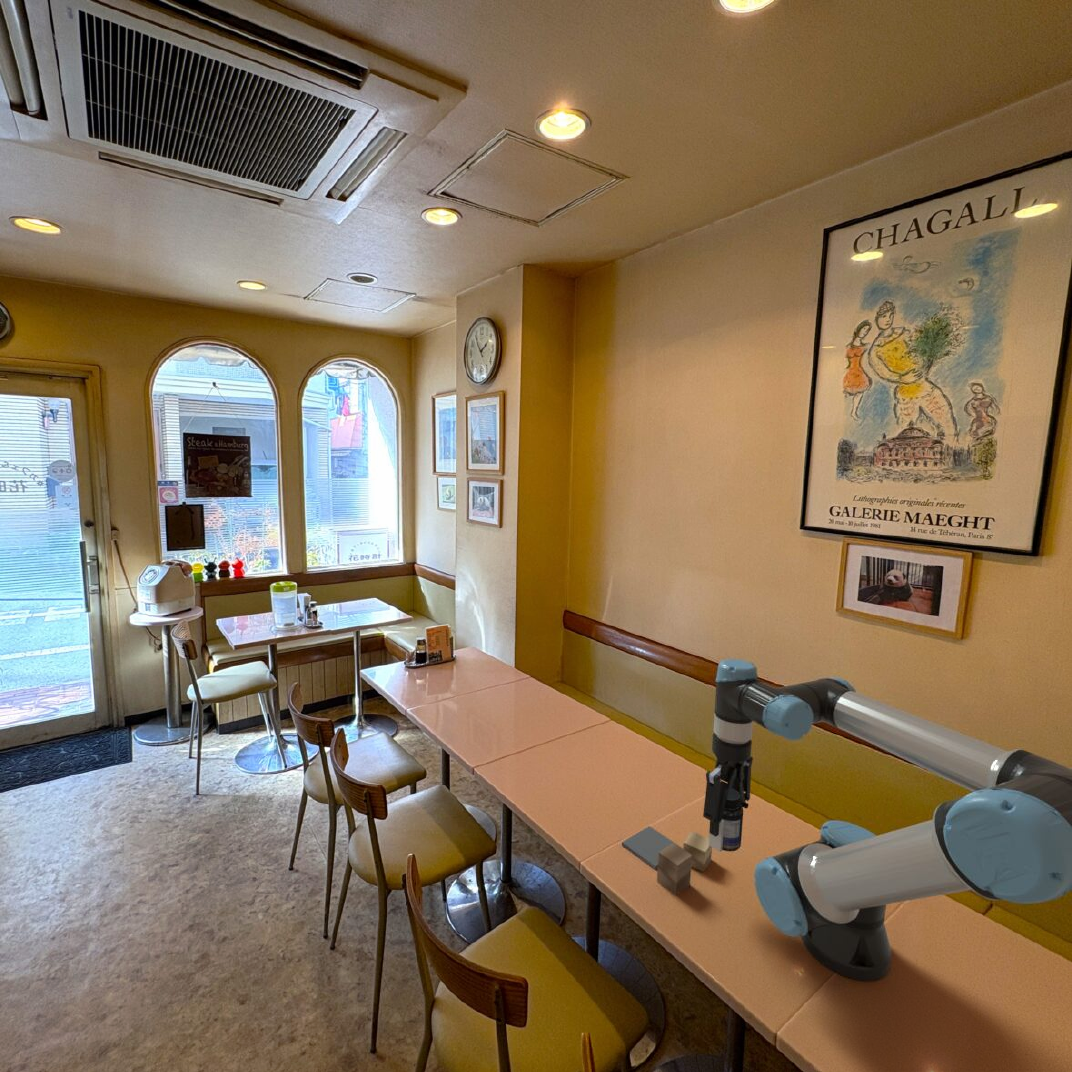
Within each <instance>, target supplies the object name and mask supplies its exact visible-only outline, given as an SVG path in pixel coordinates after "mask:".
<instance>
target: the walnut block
mask: <svg viewBox="0 0 1072 1072" xmlns="http://www.w3.org/2000/svg"><path fill="white" fill-rule="evenodd" d="M674 843H675V842H674ZM674 843H672V844H671V845H669V846H668V847H666V848H664V849H663V850H661V851H660V852H659V856H658V868H657V873H656V874H657V875H656V883H658V884H660V885H661V886H662V887H664V888H665V889H666V890H667V891H670V893H672V894H673V895H674V896H677V895H678V894H680V893H681V892H682V891H683V890H685V889H687V888H688V887H689V886H690V885H691V875H692V866H691V863H692V855H691V854H689V853H688V852H686V851H685V850H683V849H682V848H683V847H682V848H680V847H681V846H680V845H679V846H680V847H679V846H677V845H678V844H677V843H676V844H677V845H676V844H674Z"/></svg>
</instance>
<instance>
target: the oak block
mask: <svg viewBox="0 0 1072 1072" xmlns="http://www.w3.org/2000/svg"><path fill="white" fill-rule="evenodd" d="M682 848H683V850H685V851H686V852H688V853H689V854H691V855H692V863H691V868H694V869H697V870H699V871H700V872H705V870H706V869H707V867H708V866H709V865H710V862H711V861H712V855H713V847H711V846H710V845H709V837H706V836H704V835H702V834H699V833H697V832H694V831H690V833H689V834H688V836H687V837H686V839H685V840H684V842H683V847H682Z"/></svg>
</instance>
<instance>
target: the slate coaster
mask: <svg viewBox="0 0 1072 1072" xmlns="http://www.w3.org/2000/svg"><path fill="white" fill-rule="evenodd" d="M672 843H674V844H676V845H677V846H679V847H680V848H682V849H683V847H682V846H680V845H679V844H677V843H676V842H674V841H673V840H671V839H670V838H669V837H667V836H665V835H663V834H662V833H661V832H660V831H658V830H656V829H654V828H653V827H652V826H650V825H649V826H647V827H645V828H643V829H642V830H640V831H639V832H637V833H635V834H633V835H632V836H630V837H628V838H627V839H625V840H623V841H622V842H621V846H622V847H624V849H626V850H628V851H629V852H630V853H631V854H633V855H634V856H636V857H637V858H639V859H640V860H641V861H642V862H644V863H645V864H647V866H650V867H651V868H652V869H654V870H658V856H659V852H660V851H661V850H663V849H664V848H666V847H668V846H669V845H671V844H672Z"/></svg>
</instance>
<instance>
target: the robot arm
mask: <svg viewBox="0 0 1072 1072" xmlns="http://www.w3.org/2000/svg"><path fill="white" fill-rule="evenodd" d="M716 671H717V672H716V676H715V677H716V678H715V698H714V699H715V700H714V714H713V717H714V719H713V728H712V729H713V731H712V732H713V734H712V743H711V744H712V745H711V751H712V753H713V754H714V755H715V757H716V762H715V764H714V770H713V771H710V770H707V771H706V773H705V779H706V785H705V786H706V787H705V794H704V795H705V796H704V805H703V815H702V817H703V818H705V819H707V820H708V821H709V835H708V838H709V845H710V846H711V847H712V849H715V850H716V851H718V852H722V851H723V850H722V847H723V833H724V820H722V817H723V812H724V808H725V804H726V800H727V795H728V791H729V789H731V788H732V789H734V790H736V791H738V792H739V793H740V796H741V800H740V805H741V806H742V808H743V809H748V808H749V803H747V802H748V801H750V799H751V781H752V779H751V777H752V776H751V775H752V765H753V760H754V757H753V756H751V755H752V745H753V744H752V743H753V741H752V738H753V732H754V731H753V729H754V728H753V727H754V723H756V724H758V725H759V726H761V727H763V728H764V729H767V730H768V731H769V732H770V733H772V734H774V735H777V736H780V737H781V738H782V737H783V738H784V739H785V740H789V741H799V740H801V739H803V737H804V735H807V734H808V733H809V732H811V731H810V730H811V728H812V726H813V724H818V723H826V724H828V725H830V726H832V727H835V728H837V729H838V730H841V731H844V732H845V733H848V734H850V735H852V736H854V737H855V738H856V737H857V738H859V739H861V740H863V741H865V742H867V743H870V744H871V745H874V746H875V747H878V748H879V749H882V750H884V751H885V752H889V753H891V754H893V755H895V756H897V757H899V758H901V759H903V760H906V761H907V762H909V763H911V764H913V765H916V766H918V767H920V768H922V769H924V770H927V771H929V772H931V773H933V774H935V775H937V776H939V777H940V778H941V777H942V778H943V779H944V780H945V779H946V780H948V781H950V782H952V783H953V784H956V785H958V786H960V787H963V788H964V789H967V790H969V791H971V793H968V794H966V795H964V796H959V797H957V798H954V799H953V798H952V799H951V800H947V801H944V802H942V803H940V804H939V805H937V807H936V808H935V810H934V811H933V815H932V819H930V820H926V821H923V822H920V823H917V824H914V825H910V826H906V827H903V828H899V829H895V830H891V831H890V832H886V833H882V834H879V835H876V834H875V833H873V832H871V831H870V830H868V829H865V828H863V827H861V826H859V825H858V824H853V823H852V822H847V821H842V820H827V821H826V822H824V823H823V824H822V826H821V829H820V831H819V833H820V837H819V839H818V840H817V841H816V840H815V841H814V842H811V843H807V844H805V845H802V846H799V847H797V848H796V847H795V848H793V849H791V850H788V851H785V852H782V853H780V854H776V855H774V856H767V857H765V858H764V860H761V861H759V862H758V863H757V864H756V867H755V869H754V873H753V877H754V881H753V883H754V888H755V892H756V895H757V899H758V901H759V903H760V905H761V907H762V909H763V911H764V913H765V914H766V916H767V918H768V919H769V921H770V922H772V924H773V925H774V926H775V928H776V929H778V931H780V932H781V933H783V934H784V935H786V936H789V937H800V936H801V939H802V942H803V944H804V945H805V947H806V949H807V950H808V951H809V952H810V954H811V955H812V956H813V957H814V958H816V960H817V961H818V962H819V963H820V964H822V965H823V966H825V967H827V968H828V969H830V970H831V971H833V972H835V973H836V974H839V975H841V976H844V977H846V978H849V979H852V980H856V981H862V982H873V981H878V980H880V979H883V978H884V977H886V975H887V974H888V973H889V971H890V969H891V962H892V950H891V946H890V942H889V941H890V940H889V938H888V933H887V929H886V925H885V917H886V910H887V905H891V904H897V903H898V904H899V903H903V902H907V901H908V902H909V901H914V900H920V899H925V898H926V899H927V898H931V897H936V896H944V895H949V894H954V893H960V892H965V891H972V892H973V893H975V894H976V895H979V896H980V897H982V898H984V899H986V900H990V901H1003V900H1004V901H1007V902H1009V903H1010V902H1011V903H1015V904H1026V905H1027V904H1028V905H1029V904H1031V905H1032V904H1037V903H1045V902H1049V901H1053V900H1056V899H1059V898H1061V897H1063V896H1064V895H1066V894H1068V893H1069V892H1070V891H1072V769H1071V768H1070V767H1067V766H1065V765H1063V764H1061V763H1057V762H1056V761H1053V760H1050V759H1048V758H1046V757H1043V756H1040V755H1037V754H1035V753H1031V752H1030V751H1028V750H1025V749H1021V748H1016V749H1012V750H1009V751H1008V750H1005V749H1003V748H1001V747H998V746H995V745H993V744H990V743H987V742H985V741H982V740H979V739H976V738H974V737H971V736H970V735H967V734H963V733H961V732H958V731H956V730H953V729H952V728H949V727H946V726H943V725H940V724H938V723H935V722H933V721H930V720H927V719H925V718H923V717H920V716H918V715H916V714H912V713H910V712H907V711H904V710H902V709H899V708H896V707H894V706H892V705H890V704H887V703H884V702H881V701H880V700H877V699H874V698H871V697H869V696H866V695H864V694H862V693H858V692H857V691H856V689H855V688H854V686H852V685H851V684H850V683H849V681H847V680H846V679H844V678H841V677H825V678H824V677H823V678H819V679H815V680H812V681H806V682H802V683H801V682H800V683H795V684H792V685H791V684H790V685H786V686H781V687H775V686H772V685H770V684H767V683H766V682H763V681H761V680H760V679H757V678H758V675H759V674H758V668H757V666H756V665H755V664H754V663H752V662H750V661H748V660H745V659H740V658H727V659H724V660H721V661H720V662H719V663H718V666H717V670H716ZM746 801H747V802H746Z"/></svg>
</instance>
